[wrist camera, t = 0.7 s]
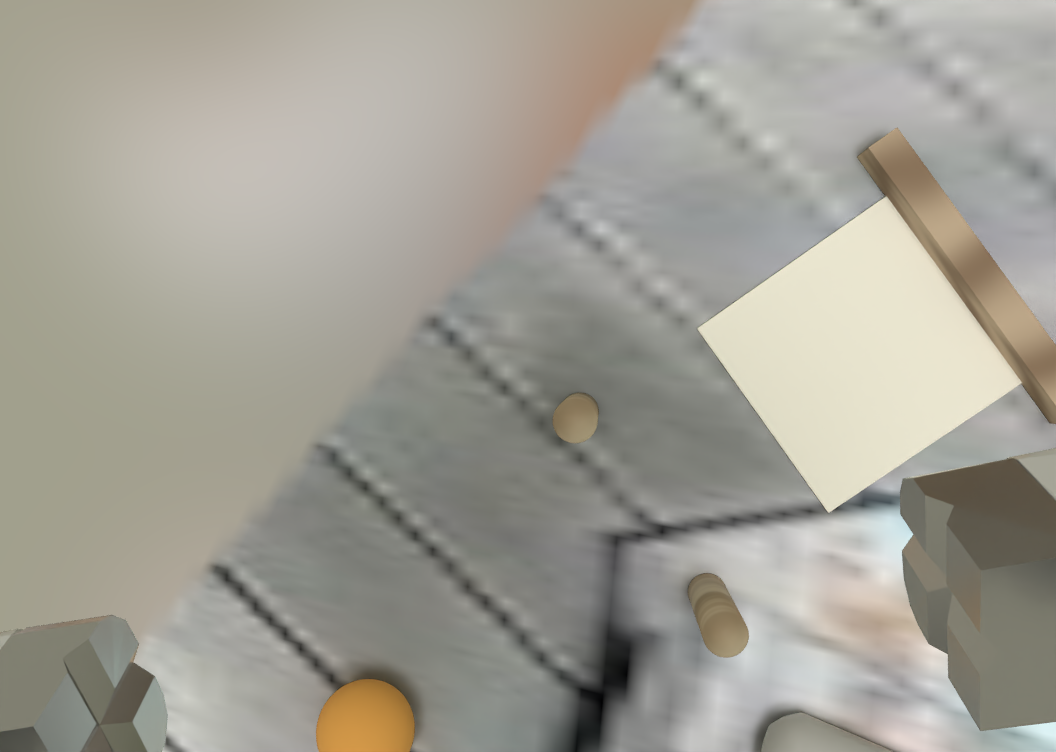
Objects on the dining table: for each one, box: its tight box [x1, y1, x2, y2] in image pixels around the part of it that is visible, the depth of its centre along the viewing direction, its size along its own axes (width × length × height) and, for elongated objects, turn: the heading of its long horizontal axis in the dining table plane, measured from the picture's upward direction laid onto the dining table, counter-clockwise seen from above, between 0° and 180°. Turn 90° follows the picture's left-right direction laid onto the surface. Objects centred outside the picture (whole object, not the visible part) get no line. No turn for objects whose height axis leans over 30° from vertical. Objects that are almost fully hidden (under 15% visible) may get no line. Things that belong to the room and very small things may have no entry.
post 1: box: [553, 393, 599, 443], centre depth 54 cm, size 2×2×9 cm
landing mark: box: [697, 196, 1022, 513], centre depth 57 cm, size 14×14×1 cm
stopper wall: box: [857, 128, 1056, 424], centre depth 55 cm, size 20×2×2 cm, turn 35°
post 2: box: [688, 573, 749, 657], centre depth 53 cm, size 2×2×9 cm
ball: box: [316, 679, 415, 752], centre depth 57 cm, size 6×6×6 cm
